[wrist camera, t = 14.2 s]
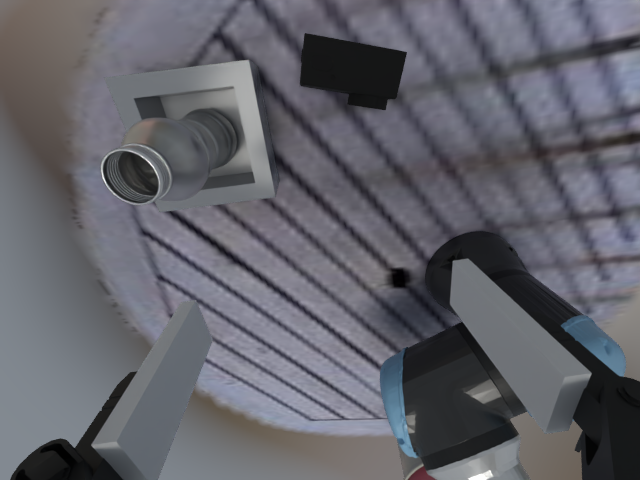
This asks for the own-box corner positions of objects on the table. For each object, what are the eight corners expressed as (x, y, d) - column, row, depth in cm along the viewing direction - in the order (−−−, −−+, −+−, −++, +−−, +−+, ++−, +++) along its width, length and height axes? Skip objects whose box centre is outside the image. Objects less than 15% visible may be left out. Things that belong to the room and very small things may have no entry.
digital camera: (297, 96, 35) (297, 96, 29) (302, 44, 32) (303, 32, 26) (377, 108, 36) (393, 111, 30) (387, 59, 34) (407, 51, 28)
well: (278, 181, 40) (275, 197, 33) (181, 193, 39) (159, 212, 33) (257, 66, 33) (248, 59, 27) (140, 80, 33) (104, 77, 27)
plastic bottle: (229, 102, 34) (153, 108, 16) (247, 157, 37) (201, 215, 19) (178, 114, 34) (47, 134, 16) (200, 168, 37) (112, 235, 19)
